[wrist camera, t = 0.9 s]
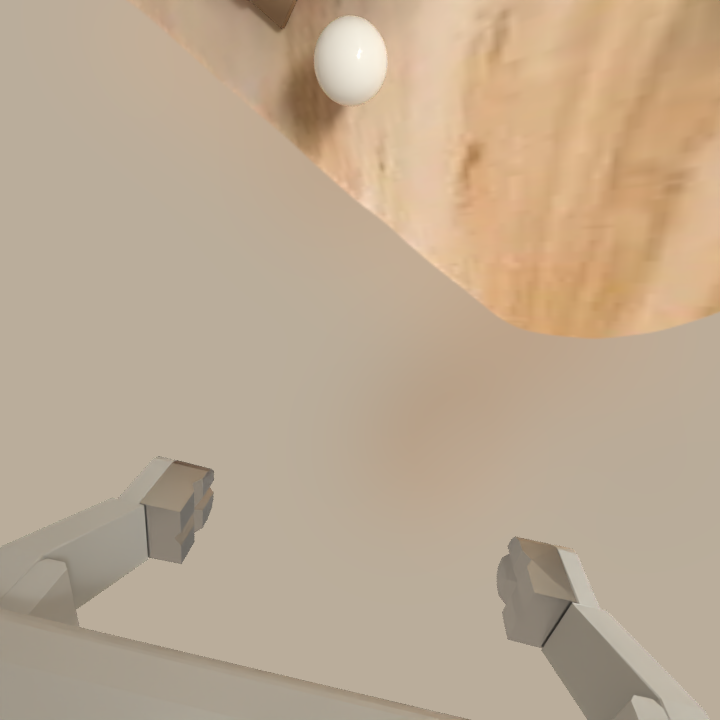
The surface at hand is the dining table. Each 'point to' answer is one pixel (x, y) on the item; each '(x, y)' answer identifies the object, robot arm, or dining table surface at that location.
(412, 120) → the dining table surface
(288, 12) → the socket board
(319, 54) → the lightbulb
